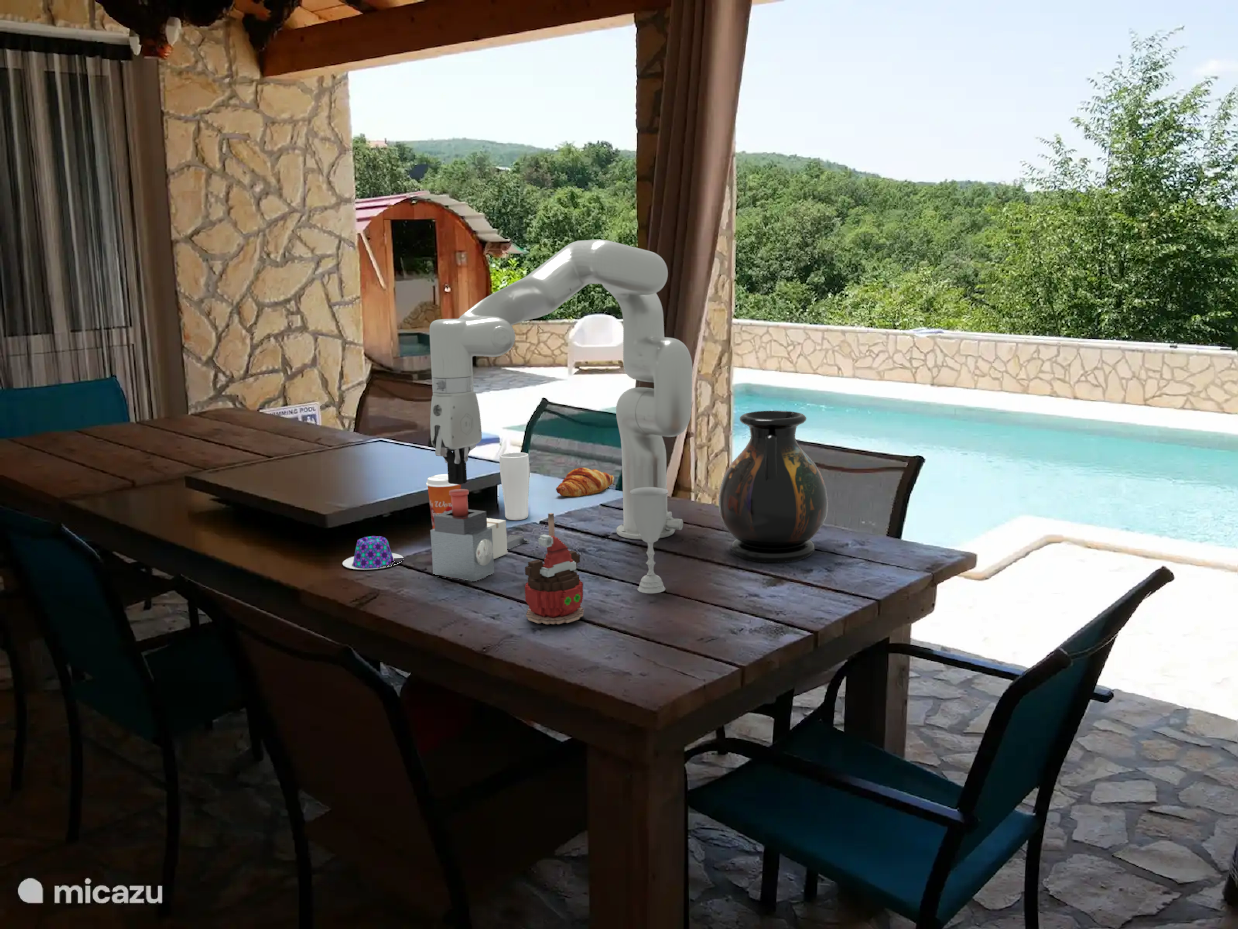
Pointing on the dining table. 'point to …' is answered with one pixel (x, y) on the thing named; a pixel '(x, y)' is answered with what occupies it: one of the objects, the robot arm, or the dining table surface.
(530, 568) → the christmas candy apple
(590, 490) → the croissant
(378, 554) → the purple patterned hat
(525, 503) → the drinking glass
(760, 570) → the dining table surface
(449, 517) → the cabinet
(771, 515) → the black painted vase
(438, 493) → the paper cup
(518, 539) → the rail
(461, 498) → the button
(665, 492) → the chalice
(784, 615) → the dining table surface
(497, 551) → the white taped box
